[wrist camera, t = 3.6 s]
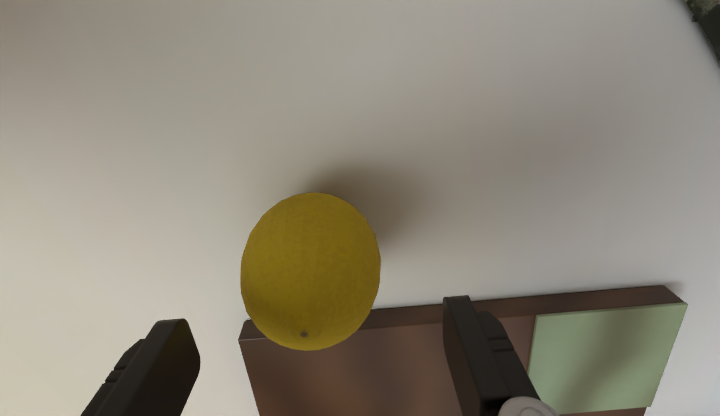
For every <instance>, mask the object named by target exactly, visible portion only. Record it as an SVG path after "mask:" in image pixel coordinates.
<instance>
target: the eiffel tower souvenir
mask: <svg viewBox="0 0 720 416" xmlns="http://www.w3.org/2000/svg"><path fill="white" fill-rule="evenodd" d="M684 1H685V2H686V4H687V5H688V7H689V8H690V10H691V11H692V13H693V14H694V15H693V19H692V22H696V21H698V22H699V24H700V26H701V27H702V29H703V31H704V32H705V34H706V36H707V38H708V39H709V41H710V43H711V44H712V46H713V48H714V50H715V52H716V54H717V56H718V57H719V59H720V0H684Z"/></svg>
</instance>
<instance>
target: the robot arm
mask: <svg viewBox="0 0 720 416" xmlns="http://www.w3.org/2000/svg"><path fill="white" fill-rule="evenodd" d="M443 345H444V351H445V355H446V359H447V363H448V366H449V370H450V373H451V376H452V380H453V383H454V387H455V390H456V394H457V397H458V401H459V404H460V408H461V411H462V415H463V416H559V414H558V413H557V412H556V411H555V410H554V409H553V408H552V407H550V406H549V405H547V404H546V403H544V402H542V401H541V399H540V397H539V396H538V394H537V392H536V390H535V388H534V386H533V384H532V382H531V380H530V378H529V376H528V374H527V372H526V370H525V368H524V366H523V364H522V362H521V360H520V358H519V356H518V354H517V353H516V351H515V350H514V347H513V345H512V343H511V341H510V339H509V338H508V335H507V333H506V331H505V329H504V327H503V325H502V323H501V322H500V321H499V320H498V319H497V318H496V317H495V316H493V315H492V314H491V313H490V312H489V311H481V312H476V311H475V309H474V307H473V304H472V302H471V300H470V298H469V296H468V295H464V296H452V297H444V298H443ZM199 370H200V355H199V352H198V349H197V346H196V344H195V341H194V338H193V335H192V332H191V330H190V327H189V324H188V322H187V321H186V320H185V319H172V320H160V321H158V322H156V323H155V325H154V326H153V327H152V329H151V331H150V332H149V334H148V335H147V337H146V338H145V339H140V340H139V341H138V342H136V343H135V344H134V345H133V346H132V347H131V348H129V349H128V350H127V351H126V352H125V353H124V354H123V356H122V357H121V358H120V360H119V361H118V363H117V364H116V366H115V367H114V371H111V373H110V374H109V376H108V377H107V378H106V380H105V383H104V384H102V386H101V387H100V388H99V390H98V391H97V393H96V394H95V396H94V397H93V399H92V400H91V401H90V403H89V404H88V406H87V407H86V409H85V410H84V411H83V413H82V414H81V416H180V415H181V413H182V411H183V408H184V406H185V404H186V402H187V399H188V397H189V395H190V393H191V390H192V388H193V386H194V384H195V381H196V379H197V377H198V374H199Z"/></svg>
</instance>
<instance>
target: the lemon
mask: <svg viewBox="0 0 720 416" xmlns="http://www.w3.org/2000/svg"><path fill="white" fill-rule="evenodd" d="M380 266H381V259H380V253H379V249H378V245H377V241H376V237H375V235H374V233H373V231H372V229H371V227H370V226H369V224H368V222H367V220H366V219H365V217H364V216H363V215H362V214H361V213H360V212H359V211H358V210H357V209H356V208H355V207H354V206H353V205H351V204H349V203H348V202H346V201H344V200H342V199H341V198H339V197H336V196H332V195H329V194H326V193H314V192H310V193H304V194H298V195H294V196H291V197H289V198H287V199H285V200H282V201H280V202H279V203H277V204H276V205H275V206H273V207H272V208H271V209H270V210H268V211H267V212H266V213H265V214H264V215H263V216H262V218H261V219H260V220H259V222H258V223H257V224H256V226H255V227H254V229H253V230H252V231H251V233H250V235H249V238H248V241H247V244H246V247H245V250H244V253H243V256H242V261H241V294H242V297H243V301H244V304H245V308H246V311H247V313H248V315H249V316H250V318H251V319H252V321H253V322H254V324H255V326H256V327H257V328H258V329H259V330H260V331H261V332H262V333H263V334H264V335H265V336H266V337H268V338H269V339H271V340H272V341H274V342H276V343H278V344H279V345H282V346H285V347H288V348H291V349H296V350H304V351H309V350H320V349H324V348H328V347H331V346H333V345H335V344H337V343H339V342H341V341H343V340H345V339H347V338H348V337H349V336H350V335H352V334H353V333H354V332H355V331H356V330H357V329H358V328H359V327H360V326H361V325H362V323H363V322H364V321H365V319H366V318H367V316H368V315H369V313H370V311H371V308H372V306H373V303H374V300H375V298H376V295H377V292H378V288H379V282H380Z"/></svg>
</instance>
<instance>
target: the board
mask: <svg viewBox="0 0 720 416" xmlns="http://www.w3.org/2000/svg"><path fill="white" fill-rule="evenodd" d="M472 304H473V307H474V309H475V311H476V312H481V311H489V312H490V313H491V314H492V315H493V316H495V317H496V318H497V319H498V320H499V321H500V322H501V323H502V325H503V327H504V329H505V331H506V333H507V335H508V338H509V339H510V341H511V343H512V345H513V347H514V350H515V351H516V353H517V354H518V356H519V358H520V360H521V362H522V364H523V366H524V368H525V370H526V372H527V374H528V376H529V378H530V380H531V382H532V384H533V386H534V388H535V390H536V392H537V394H538V396H539V397H540V399H541V401H542V402H544V403H546V404H547V405H549V406H550V407H552V408H553V409H554V410H555V411H556V412H557V413H558V414H559V416H644V413H645V411H646V408H647V407H651V405H652V402H653V399H654V396H655V394H656V391H657V388H658V385H659V383H660V380H661V377H662V375H663V372H664V369H665V366H666V364H667V361H668V358H669V355H670V353H671V350H672V347H673V344H674V342H675V339H676V336H677V333H678V331H679V328H680V325H681V323H682V320H683V317H684V314H685V312H686V309H687V306H688V304H687V303H686V302H684V301H683V300H681V299H680V298H679V297H678V296H676V295H675V294H674V293H673V292H672V291H670V290H669V289H668V288H667V287H665V286H651V287H640V288H628V289H616V290H604V291H593V292H581V293H569V294H557V295H546V296H534V297H522V298H510V299H498V300H487V301H475V302H472ZM238 341H239V345H240V348H241V352H242V355H243V359H244V362H245V366H246V369H247V373H248V376H249V380H250V383H251V387H252V390H253V394H254V398H255V401H256V405H257V408H258V412H259V415H260V416H463V415H462V411H461V408H460V404H459V401H458V397H457V394H456V390H455V387H454V383H453V380H452V376H451V373H450V370H449V366H448V363H447V359H446V355H445V351H444V345H443V304H440V305H428V306H416V307H404V308H393V309H381V310H371V311H370V313H369V315H368V316H367V318H366V319H365V321H364V322H363V323H362V325H361V326H360V327H359V328H358V329H357V330H356V331H355V332H354V333H353V334H352V335H350V336H349V337H348V338H347V339H345V340H343V341H341V342H339V343H337V344H335V345H333V346H331V347H328V348H324V349H320V350H309V351H304V350H296V349H291V348H288V347H285V346H282V345H279V344H278V343H276V342H274V341H272V340H271V339H269V338H268V337H266V336H265V335H264V334H263V333H262V332H261V331H260V330H259V329H258V328H257V327H256V326H255V324H254V322H253V321H252V320H251V321H245V322H244V324H243V327H242V330H241V333H240V336H239V339H238Z"/></svg>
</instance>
